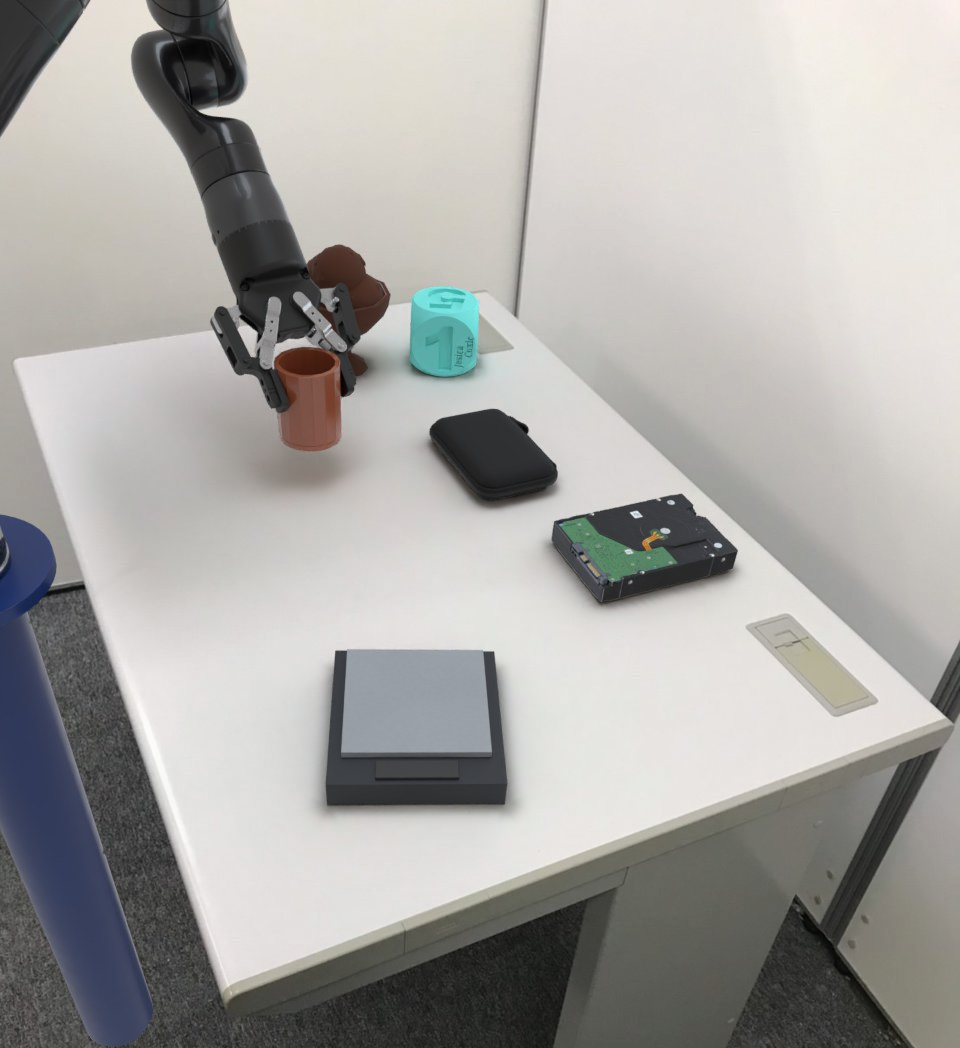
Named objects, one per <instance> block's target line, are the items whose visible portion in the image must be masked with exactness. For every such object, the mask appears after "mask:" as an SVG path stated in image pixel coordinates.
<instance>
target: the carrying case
mask: <svg viewBox="0 0 960 1048" xmlns="http://www.w3.org/2000/svg"><path fill="white" fill-rule="evenodd" d="M428 431H429V433H428V434H429V437H430V440H431V441H432V442H433V443H434V445H435V446H436V447H437V448H438V450H439V451H440V452H441V453H442V455H443V456H444V457H445V458H446V460H447V461H448V462H449V463H450V464H451V466H452V467H453V468H454V469H455V470H456V471H457V473H458V474H459V476H461V478H462V479H463V480H464V481H465V483H466V484H467V485H468V487H470V489H471V490H472V491H473V492H474V493H475V494H476V495H477V496H478V497H479V498H481V499H483V501H487V502H489V501H491V502H493V501H498V500H502V499H507V498H512V497H515V496H520V495H525V494H528V493H533V492H538V491H542V490H546V489H547V488H549V487H551V486H553V484H554V483H556V481H557V480H558V477H559V471H558V467H557V463H555V462H554V461H553V460H552V459H551V458H550V457H549V456H548V455H547V454H546V453H545V451H544V450H543V449H542V448H541V447H540V446H539V445H538V444H537V443H536V442H535V441H534V440H533V439H532V438H531V437H530V435H528V434H529V432H530V428H529V426H528V425H527V424H526V423H524V422H521V421H520V420H518V419H516V418H515V417H514V416H512V415H508V414H506V413H505V411H502V410H501V409H499V408H487V409H481V410H476V411H471V412H466V413H460V414H454V415H450V416H444V417H441V418H439V419H437V420H436V421H435V422H434V423H432V425H431V426H430V428H429V430H428Z"/></svg>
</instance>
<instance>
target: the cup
mask: <svg viewBox="0 0 960 1048" xmlns="http://www.w3.org/2000/svg"><path fill="white" fill-rule="evenodd" d="M273 369H277V372H278V374H279V377H280V380H281V382H282V385H283V388H284V390H285V393H286V395H287V398H288V401H289V405H290V406H289V408H288V409H287V411H286V412H283V413H279V414H278V413H277V412H276V414H277V415H276V416H277V429H278V434H279V436H278V437H279V440H280V441H281V442H282V443H283V444H284V446H286V447H288V448H290V449H293V450H294V451H295V450H296V451H300V452H308V453H309V452H312V453H313V452H321V451H325V450H329V449H331V448H334V446H337V445H338V444H339V443H340V442H341V439H342V437H343V419H342V418H343V415H342V414H343V413H342V411H343V410H342V396H341V370H340V359H339V358H338V357H337V355H336V354H334V353H332V352H330V351H328V350H325V349H321V348H318V347H317V346H299V347H292V348H288V349H285V350H284V351H281V352H280V353H279V354H277V355H276V356H275V357H274V358H273Z"/></svg>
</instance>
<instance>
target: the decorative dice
mask: <svg viewBox="0 0 960 1048" xmlns="http://www.w3.org/2000/svg"><path fill="white" fill-rule="evenodd" d="M410 303H411V304H410V327H409V329H410V330H409V362H410V364H411V365H412V366H413V367H415V369H417V370H418V371H420V372H421V373H424V374H427V375H431V376H434V377H442V378H443V377H446V378H447V377H456V376H461V375H464V374H467V373H468V372H469V371H471V370H472V369H474V367H476V365H477V358H478V346H479V326H480V325H479V324H480V300H479V299H478V298H477V297H476V296H475V294H473V293H472V292H470V291H468V290H466V289H463V288H459V287H453V286H444V285H443V286H442V285H439V286H430V287H425V288H422V289H420V290H418V291H417V292H416V293H414V294H413V295H412V296H411V302H410Z"/></svg>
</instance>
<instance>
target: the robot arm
mask: <svg viewBox="0 0 960 1048" xmlns="http://www.w3.org/2000/svg"><path fill="white" fill-rule="evenodd" d="M90 3H91V0H0V139H2V137H3V135H4V134H5V133H6V131H7V129H8V128H9V126H10V125H11V123H12V122H13V120H14V119H15V118H16V115H17V114H18V112H19V110H20V109H21V108H22V106H23V104H24V102H25V101H26V99H27V98H28V96H29V95H30V93H31V92H32V90H33V88H34V87H35V86H36V84H37V82H38V80H39V79H40V78H41V77H42V75H43V74H44V72H45V71H46V69H47V68H48V66H49V65H50V64H51V62H52V61H53V60H54V58H55V57H56V55H57V54H58V52H59V51H60V49H61V48H62V47H63V45H64V43H65V42H66V40H67V39H68V37H69V35H70V34H71V33H72V31H73V29H74V28H75V27H76V25H77V23H78V22H79V20H80V18H81V17H82V15H83V14H84V12H85V11H86V9H87V7H88V5H90ZM145 3H146V7H147V9H148V12H149V13H150V16H151V18H152V19H153V21H154V22H155V23H156V24H157V25H158V27H160V28H161V29H156V30H151V31H147V32H145V33H142V34H141V35H140V36H138V37H137V38H136V39H135V41H134V43H133V46H132V48H131V52H130V69H131V73H132V77H133V80H134V83H135V85H136V87H137V89H138V91H139V93H140V95H141V97H142V99H143V100H144V102H145V103H146V105H147V106H148V108H149V109H150V110H151V112H152V113H153V115H154V116H155V118H157V120H158V121H159V122H160V124H161V125H162V127H163V128H164V129H165V130H166V132H167V133H168V135H169V136H170V137H171V140H172V141H173V142H174V144H175V146H176V147H177V149H178V150H179V152H180V153H181V155H182V157H183V159H184V161H185V162H186V165H187V167H188V170H189V172H190V175H191V178H192V180H193V183H194V185H195V188H196V191H197V193H198V196H199V198H200V201H201V204H202V207H203V211H204V215H205V219H206V223H207V227H208V230H209V232H210V234H211V235H210V236H211V241H212V244H213V246H214V247H215V248H216V251H217V253H218V256H219V258H220V261H221V264H222V266H223V270H224V271H225V275H226V277H227V279H228V282H229V285H230V287H231V290H232V293H233V294H234V296H235V300H236V302H235V305H234V306H230V307H226V306H224V305H219V306H218V307H216V308H215V310H214V312H213V313H212V315H211V318H210V321H209V322H210V326H211V327H212V330H213V332H214V334H215V336H216V338H217V340H218V342H219V344H220V346H221V348H222V350H223V352H224V354H225V356H226V358H227V360H228V362H229V364H230V366H231V368H232V370H233V373H235V374H236V375H237V376H244V375H250V376H254V377H255V378H256V379H257V380H258V383H259V385H260V387H261V390H262V393H263V395H264V396H263V397H264V398H265V401H266V404H267V405H268V406H269V408H270V409H271V410H272V409H273V410H274V409H275V412H276V414H277V413H278V414H279V413H283V412H286V411H287V409H288V408H289V406H290V405H289V401H288V398H287V395H286V393H285V390H284V388H283V385H282V382H281V380H280V377H279V374H278V372H277V369H274V367H273V366H274V354H275V348H276V345H277V344H281V343H284V342H286V341H287V340H300V339H304V338H305V340H307V341H308V342H309V343H310V344H311V345H312V346H313V347H316V348H321V349H325V350H328V351H330V352H332V353H334V354H336V355H337V357H338V358H339V359H340V370H341V398H346V397H350V396H351V395H352V394H353V393H354V392H355V386H356V385H357V376H355V374H354V371H353V369H352V366H351V363H350V361H349V358H348V355H347V352H348V351H350V350H351V349H353V348H354V347H355V346H356V344H358V343H359V342H360V340H361V336H362V335H361V336H360V332H359V329H358V325H357V321H356V318H355V314H354V310H353V307H352V303H351V299H350V296H349V292H348V288H347V286H346V285H345V284H343V283H339V284H337V286H336V287H335V288H325V289H319V288H318V286H317V285H316V284H315V283H314V282H313V281H312V279H311V278H310V275H309V271H308V267H307V262H306V259H305V256H304V253H303V250H302V248H301V245H300V243H299V239H298V238H297V235H296V233H295V230H294V227H293V224H292V222H291V219H290V216H289V214H288V210H287V208H286V206H285V203H284V201H283V198H282V196H281V194H280V192H279V190H278V189H277V187H276V185H275V183H274V181H273V179H272V176H271V173H270V170H269V168H268V165H267V163H266V159H265V157H264V154H263V152H262V150H261V147H260V143H259V141H258V138H257V136H256V134H255V132H254V130H253V128H252V127H251V126H250V125H249V124H248V123H246V122H245V121H243V120H242V119H239V118H235V117H228V116H227V117H226V116H216V115H209V114H206V113H204V112H203V111H207V110H213V109H218V108H223V107H228V106H231V105H234V104H236V103H237V102H239V101H240V100H241V99H242V97H243V96H245V93H246V91H247V89H248V87H249V82H250V81H249V80H250V71H249V66H248V62H247V58H246V56H245V55H246V54H245V52H244V50H243V47H242V44H241V42H240V39H239V36H238V33H237V32H236V29H235V25H234V21H233V18H232V12H231V7H230V1H229V0H145ZM201 111H202V112H201ZM320 302H322V303H324V304H325V306H326V308H327V310H328V311H330V312H332V314H333V318H334V321H335V325H336V329H337V332H338V335H337V334H336V332H335V331H334V330H333V329H332V326H331V324H330V323H329V322H328V321H327V320H326V319H325V317H324V316H323V315H322V314H321V313H320V312H319V311H318V309H319V305H320ZM239 319H240V320H241V321H243V323H245V324H246V325H247V326H249V327H250V328H251V329H252V330H254V331H255V332H256V335H255V336H256V337H255V344H254V345H255V346H254V357H253V356H251V354H250V352H249V350H248V348H247V346H246V344H245V342H244V340H243V337H242V336H241V334H240V332H239V330H238V329H239V328H240V321H239ZM313 326H314V327H315V328H316V329H315V328H314V327H313ZM10 563H11V555H10V551H9V548H8V545H7V543H6V541H5V538H4V535H3V533H2V530H1V527H0V579H1V578H2V577H3V576H4V575H5V573H6V572H7V571H8V569H9V566H10Z"/></svg>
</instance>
